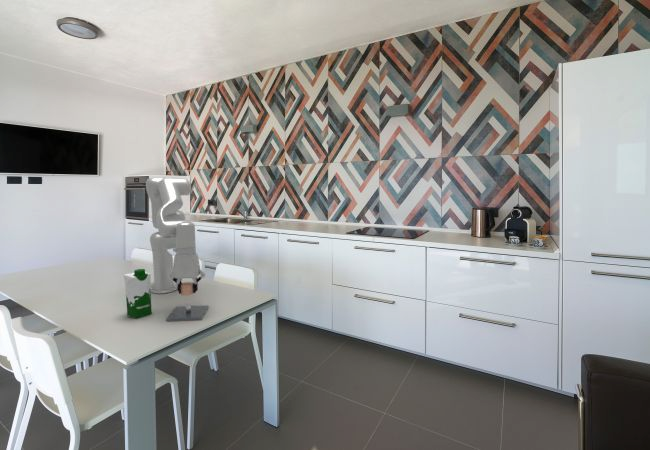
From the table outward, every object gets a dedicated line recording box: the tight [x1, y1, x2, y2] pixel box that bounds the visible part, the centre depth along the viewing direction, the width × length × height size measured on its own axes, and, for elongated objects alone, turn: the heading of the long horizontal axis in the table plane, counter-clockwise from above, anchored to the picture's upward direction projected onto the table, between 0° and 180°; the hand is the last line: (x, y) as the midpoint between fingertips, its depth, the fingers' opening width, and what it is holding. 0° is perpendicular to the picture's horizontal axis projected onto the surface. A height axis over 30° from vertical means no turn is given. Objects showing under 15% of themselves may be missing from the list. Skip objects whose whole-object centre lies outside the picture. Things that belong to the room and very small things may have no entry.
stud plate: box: [165, 303, 210, 322], centre depth 145 cm, size 14×14×4 cm
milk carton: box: [123, 268, 153, 320], centre depth 144 cm, size 9×9×20 cm
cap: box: [181, 281, 195, 296], centre depth 144 cm, size 5×5×4 cm
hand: (187, 292), depth 144 cm, fingers closed on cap, 5 cm apart
